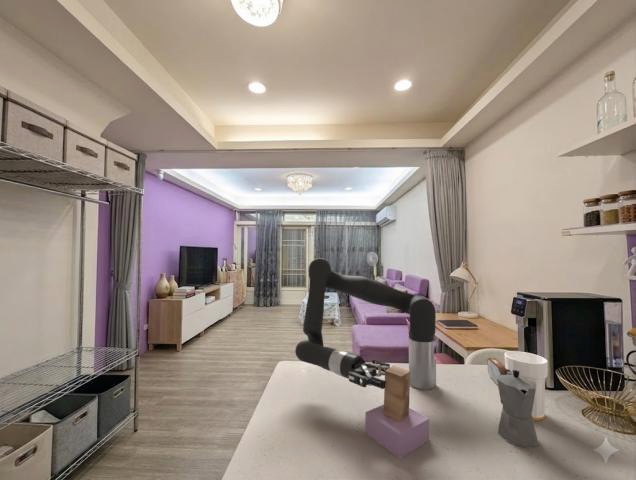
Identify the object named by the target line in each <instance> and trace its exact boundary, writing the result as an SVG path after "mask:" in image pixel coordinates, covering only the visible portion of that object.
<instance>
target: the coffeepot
mask: <svg viewBox="0 0 636 480" xmlns="http://www.w3.org/2000/svg"><path fill="white" fill-rule="evenodd" d="M497 382H498V385H497V387H498V393H499V397H500V399H499V400H500V404H501V405H502V409H501V413H500V414H501V415H500V418H499V419H500V420H499V426H498V429H497V432H498V434H499V436H500V435H501V436H502V437H503V438H502V437H501V436H500V437H501V438H502V439H504V440H505V439H506V440H507V441H506V440H505V441H506V442H508V441H509V442H508V443H510V442H511V443H510V444H512V443H513V444H512V445H514V444H515V446H517V445H518V446H517V447H521V446H522V448H534V447H537V445H538V437H537V436H538V435H537V431H536V428H535V427H536V426H535V420H533V416H532V410H533V403H534V397H535V390H536V384H535V383H534V382H532V381H530V380H528V379H526V378H523V377H519V371H517V370H513V372H511V371H510V370H508V369H507V370H505V372H504V375H499V376H498V378H497Z"/></svg>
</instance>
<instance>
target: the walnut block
mask: <svg viewBox="0 0 636 480" xmlns="http://www.w3.org/2000/svg"><path fill="white" fill-rule="evenodd" d="M384 381H385V388H384V389H383V390H384V391H383V393H384V395H383V397H384V398H383V404H384V415H386V416H388V417H391V418H393V419H395V420H397V421H399V422H401V421H402V420H403V419H404V418H406V417H407V416H408V415H409V408H410V397H411V396H410V390H411V389H410V388H411V385H410V371H409V369H406V368H403V367H399V366H397V365H392V366H390V368H388V369H387V370H385V375H384Z"/></svg>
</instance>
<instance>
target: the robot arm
mask: <svg viewBox="0 0 636 480" xmlns="http://www.w3.org/2000/svg"><path fill="white" fill-rule="evenodd" d="M308 278H309V288H308V296H307V302H306V306H305V313H304V319H303V327H302V331H303V333H304V335H306V336H307V340H302V341H299V342H298V343H297V345H296V346H295V352H294V353H295V356H296V358H297V359H298V360H299V361H301V362H303V363H307V364H310V365H314V366H317V367H319V368H322V369H323V370H326V371H327V372H328V371H329V372H330V373H333V374H335V375H337V376H339V377H343V378H345V379H348V381H349V382H351V383H353V384H355V385H357V386H360V387H361V388H367V386H369V387H371V386H373V387H375V388H379V389H381V390H384V388H385V379H382V378H380V377H382V376H385V370H387V369H388V368H390V367H391V364H390V363H386V362H384V361H379V360H376V359H372V360H371V362H366V361H365V360H364V358H363V357H362V356H361V355H359V354H356V353H352V352H348V351H345V350H340V349H336V348H332V347H327V346H324V339H323V331H322V330H323V322H324V310H325V295H326V289H331V290H334V291H338V292H341V293H343V294H345V295H349V296H350V297H351V296H352V297H353V298H356V299H359V300H362V301H363V302H366V303H370V304H373V305H378V306H383V307H388V308H392V309H393V308H394V309H396V310H399V311H401V312H403V313H405V314H407V315H409V330H408V370H409V371H410V387H413V388H415V389H419V390H425V391H426V390H427V391H429V390H432V389H434V388H435V386H436V385H437V360H436V359H435V334H436V325H437V323H436V321H437V320H436V319H437V318H436V317H437V313H436V308H435V305H434V303H433V302H432V301H431V300H429V299H428V298H427V297H425V296H423V295H418V294H413V293H409V292H406V291H401V290H400V289H399V290H398V289H397V288H395V287H393V286H390V285H387V284H385V283H383V282H380V281H379V280H375V279H373V278H369V277H367V276H361V275H347V274H346V275H345V274H343V273H342V274H341V273H339V272H336V271H334V270H332V267H331V264H330V262H329V261H328V260H327V259H325V258H324V257H323V258H322V257H317V258H314V259H312V260H311V262H310V263H309V265H308Z"/></svg>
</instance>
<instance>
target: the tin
mask: <svg viewBox="0 0 636 480" xmlns="http://www.w3.org/2000/svg"><path fill="white" fill-rule="evenodd" d="M486 363H487V364H486V365H487V372H488V375H489V377H490V379H491V380H492V381H493V383H495V385H496V386H498V382H497V378H498V376H499V375H504V372H505V370H507V369H506V368H505V364H503V363H502V362H501V361H500V360H499V359H498V358H497V357H488V358H487V359H486Z"/></svg>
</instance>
